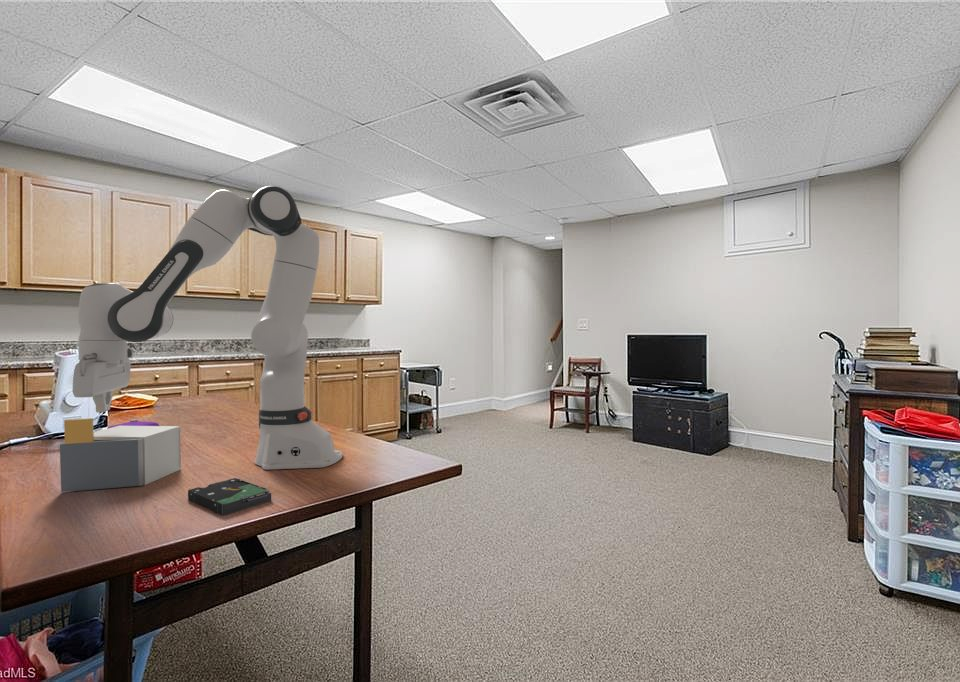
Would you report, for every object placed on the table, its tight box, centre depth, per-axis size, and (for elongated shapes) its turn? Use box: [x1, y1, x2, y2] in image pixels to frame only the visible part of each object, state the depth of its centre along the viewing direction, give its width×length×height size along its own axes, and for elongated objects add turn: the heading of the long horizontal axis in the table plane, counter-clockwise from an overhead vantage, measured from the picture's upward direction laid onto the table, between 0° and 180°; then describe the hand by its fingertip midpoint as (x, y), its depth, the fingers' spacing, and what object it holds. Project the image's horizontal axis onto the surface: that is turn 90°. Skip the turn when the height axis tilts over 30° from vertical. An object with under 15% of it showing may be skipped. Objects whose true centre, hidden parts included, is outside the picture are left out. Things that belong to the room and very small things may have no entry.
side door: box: [59, 417, 145, 493], centre depth 108 cm, size 15×1×16 cm, turn 107°
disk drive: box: [187, 477, 272, 517], centre depth 101 cm, size 10×3×15 cm
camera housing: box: [94, 425, 182, 486], centre depth 118 cm, size 16×13×11 cm
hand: (103, 411), depth 114 cm, fingers closed
